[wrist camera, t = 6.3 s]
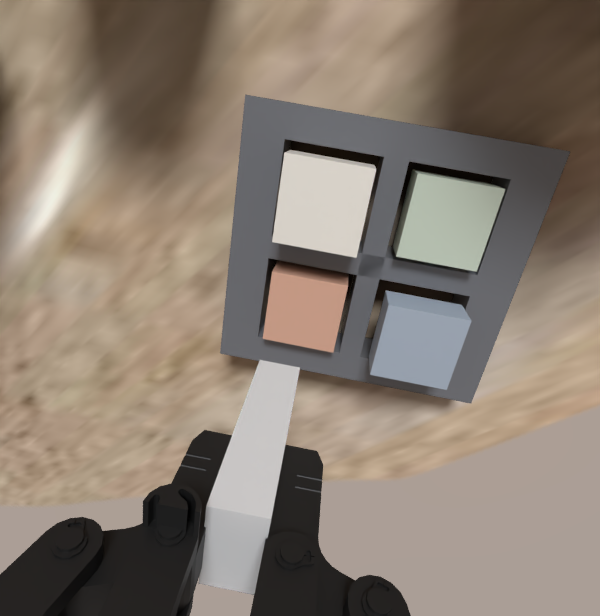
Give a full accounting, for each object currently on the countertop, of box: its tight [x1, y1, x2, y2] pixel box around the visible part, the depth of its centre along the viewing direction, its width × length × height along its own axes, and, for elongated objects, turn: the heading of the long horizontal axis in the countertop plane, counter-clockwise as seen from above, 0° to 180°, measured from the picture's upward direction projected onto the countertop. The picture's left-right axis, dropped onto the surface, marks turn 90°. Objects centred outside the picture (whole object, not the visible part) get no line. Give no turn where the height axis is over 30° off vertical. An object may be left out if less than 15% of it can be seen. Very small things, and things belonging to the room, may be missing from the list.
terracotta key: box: [263, 261, 348, 353], centre depth 24 cm, size 4×4×3 cm
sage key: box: [393, 169, 505, 272], centre depth 22 cm, size 4×4×3 cm
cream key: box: [272, 150, 376, 258], centre depth 21 cm, size 4×4×3 cm
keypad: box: [220, 95, 570, 403], centre depth 24 cm, size 15×14×3 cm
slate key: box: [369, 290, 471, 390], centre depth 23 cm, size 4×4×3 cm
